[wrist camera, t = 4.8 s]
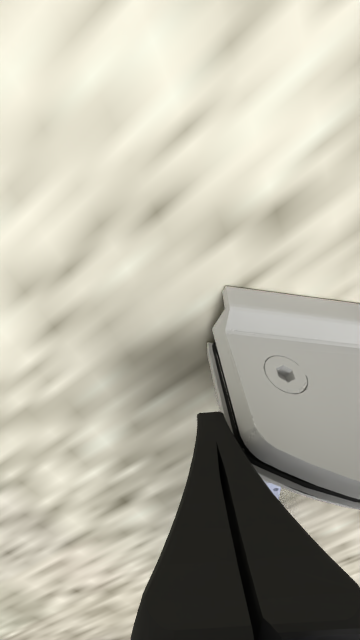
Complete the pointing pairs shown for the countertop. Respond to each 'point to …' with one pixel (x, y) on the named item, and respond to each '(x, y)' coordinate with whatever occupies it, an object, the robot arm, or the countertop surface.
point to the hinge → (292, 389)
